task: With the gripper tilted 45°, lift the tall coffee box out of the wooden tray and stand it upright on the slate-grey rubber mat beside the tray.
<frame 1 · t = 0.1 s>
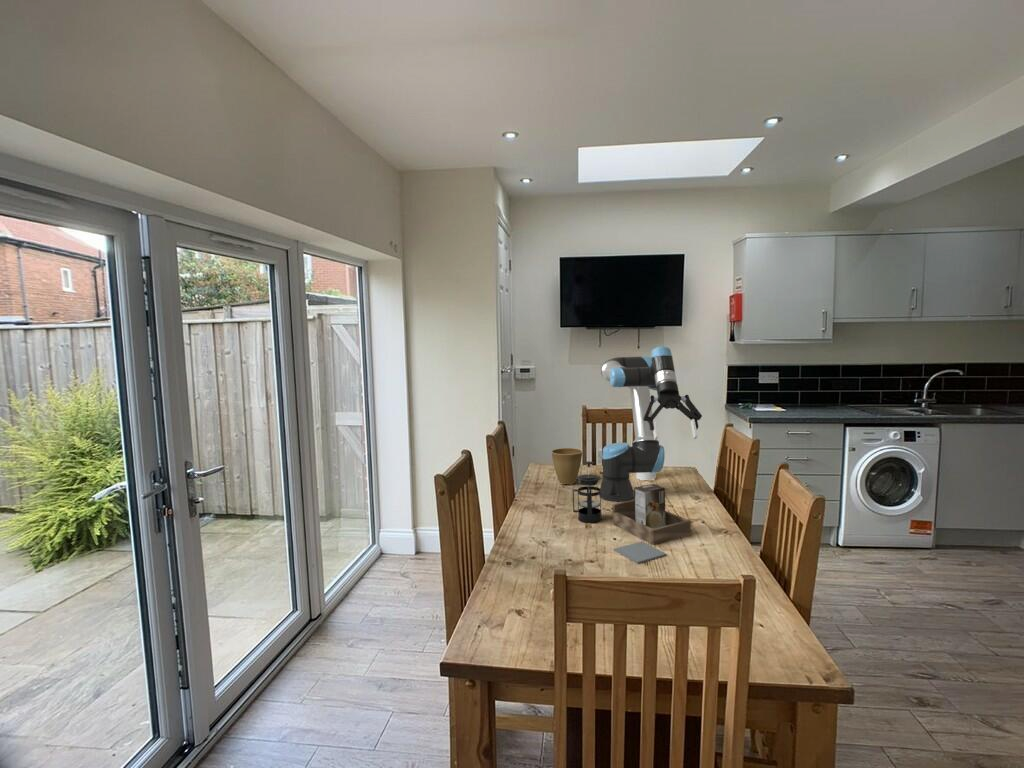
hand: (675, 437, 185), 36 cm above the table, tool tilted 35°, fingers open, 13 cm apart
slate mat: (639, 552, 176), on the table
coffee box: (650, 530, 196), resting in wooden tray
wooden tray: (650, 529, 196), on the table
french press: (588, 519, 209), on the table
cylinder container: (645, 478, 263), on the table
plant pot: (567, 483, 259), on the table
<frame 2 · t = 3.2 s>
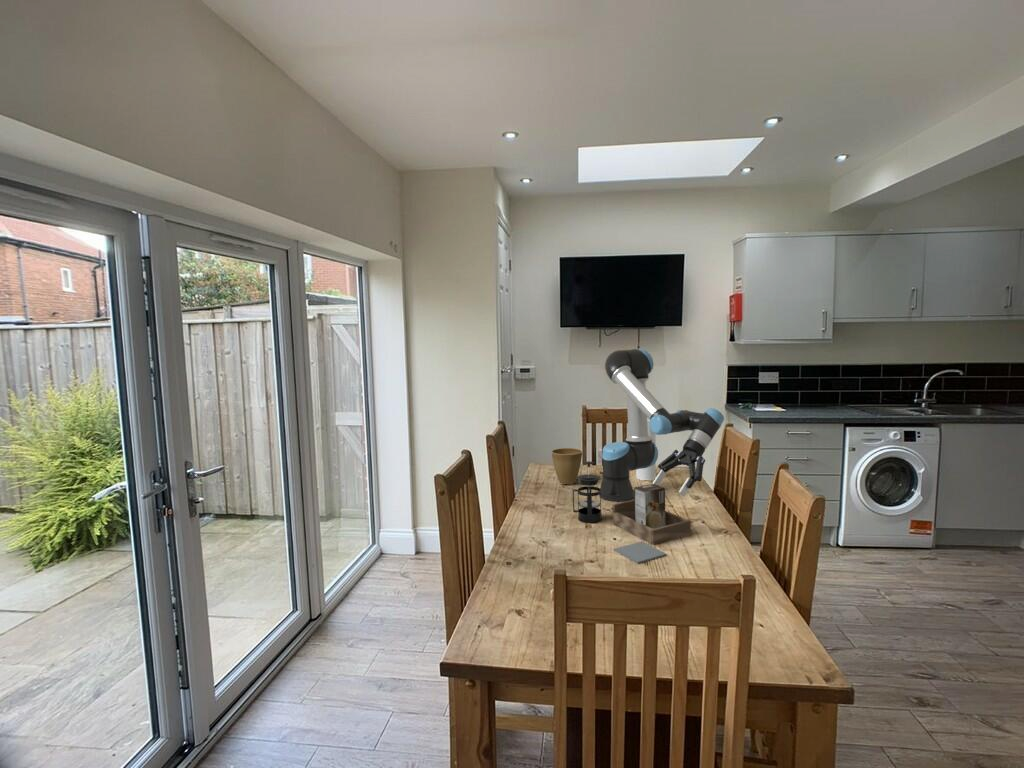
hand: (667, 489, 197), 14 cm above the table, tool tilted 45°, fingers open, 13 cm apart
nothing on the table moved.
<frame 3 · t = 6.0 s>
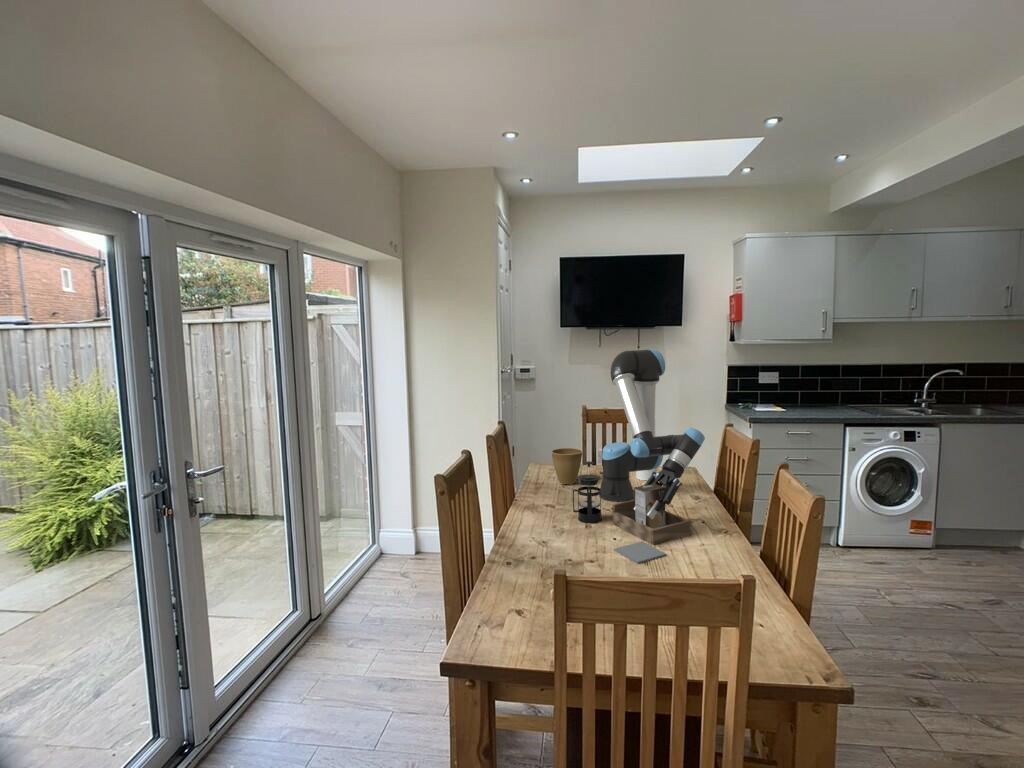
hand: (642, 514, 194), 6 cm above the table, tool tilted 45°, fingers closed on coffee box, 7 cm apart
coffee box: (650, 529, 196), resting in wooden tray, touching gripper
everything else where it was.
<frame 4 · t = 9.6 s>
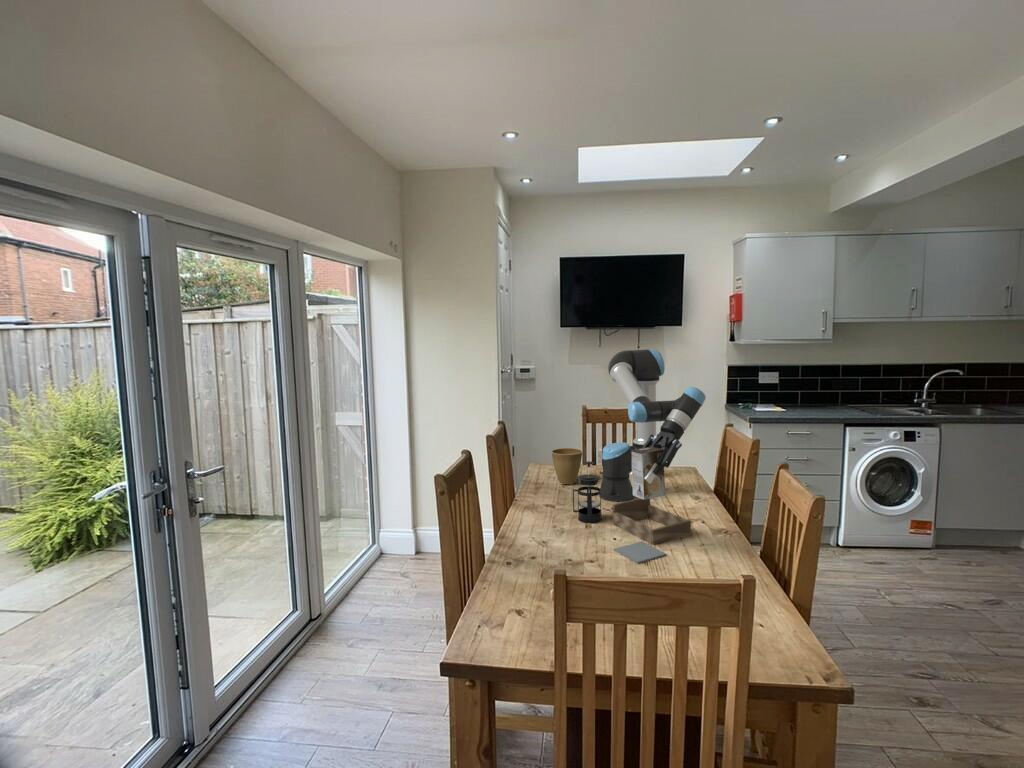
hand: (640, 478, 179), 24 cm above the table, tool tilted 45°, fingers closed on coffee box, 7 cm apart
coffee box: (648, 496, 181), point 17 cm above the table, touching gripper
everything else where it was.
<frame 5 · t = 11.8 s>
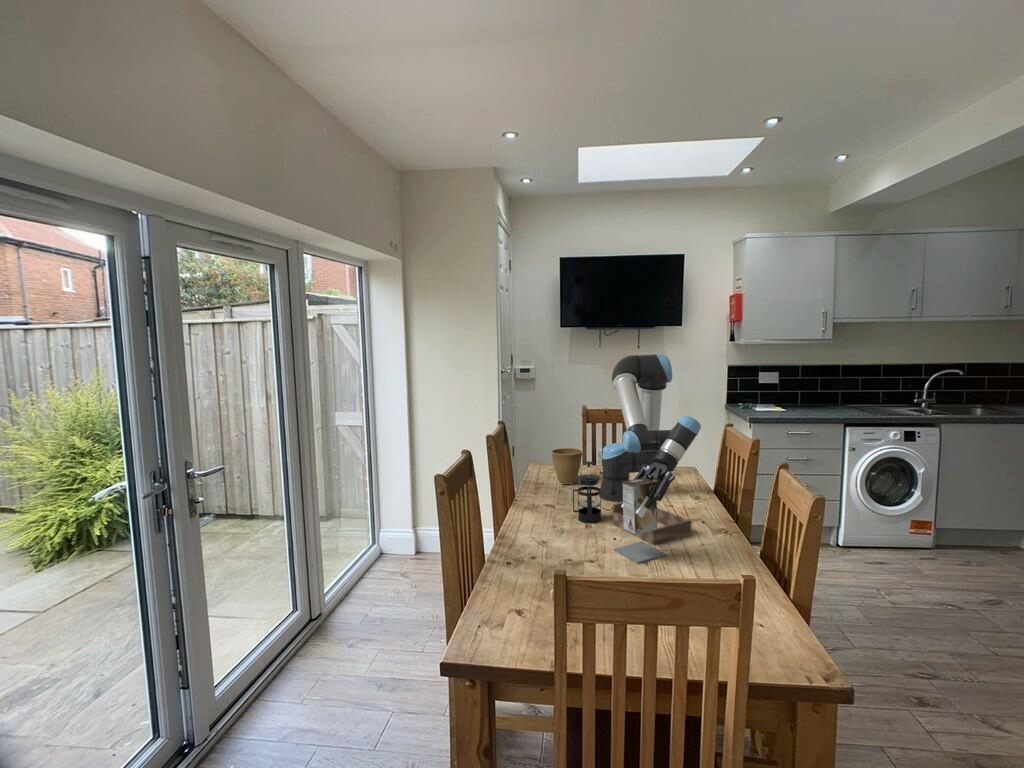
hand: (631, 511, 172), 15 cm above the table, tool tilted 45°, fingers closed on coffee box, 7 cm apart
coffee box: (640, 529, 175), point 8 cm above the table, touching gripper
everything else where it was.
when the fingers open (8 cm above the table, at t = 13.3 s): coffee box drops 1 cm, resting on slate mat.
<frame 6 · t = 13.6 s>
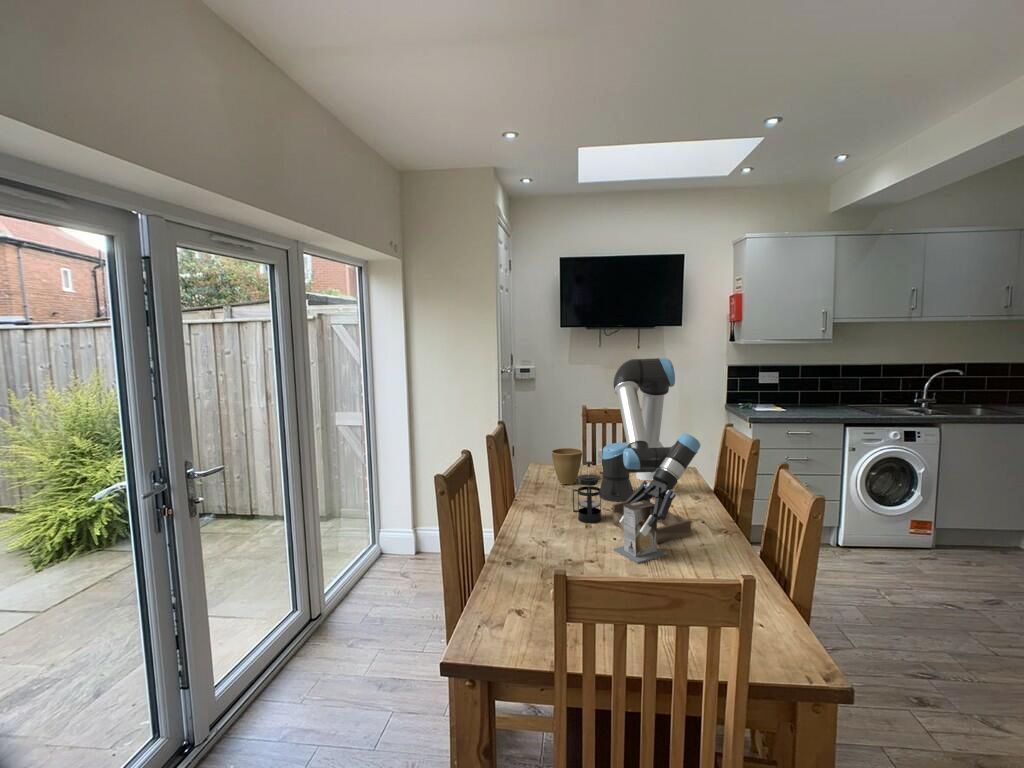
hand: (632, 528, 174), 9 cm above the table, tool tilted 45°, fingers open, 9 cm apart
coffee box: (640, 551, 176), resting on slate mat
everything else where it was.
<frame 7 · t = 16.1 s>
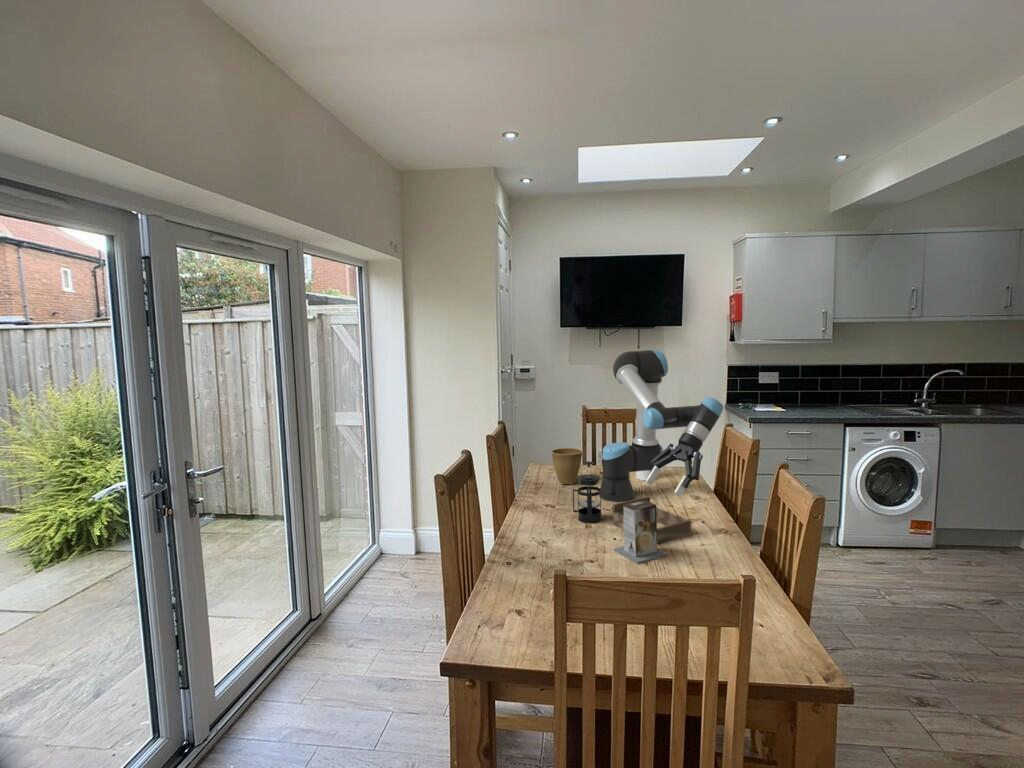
hand: (662, 488, 181), 20 cm above the table, tool tilted 40°, fingers open, 13 cm apart
nothing on the table moved.
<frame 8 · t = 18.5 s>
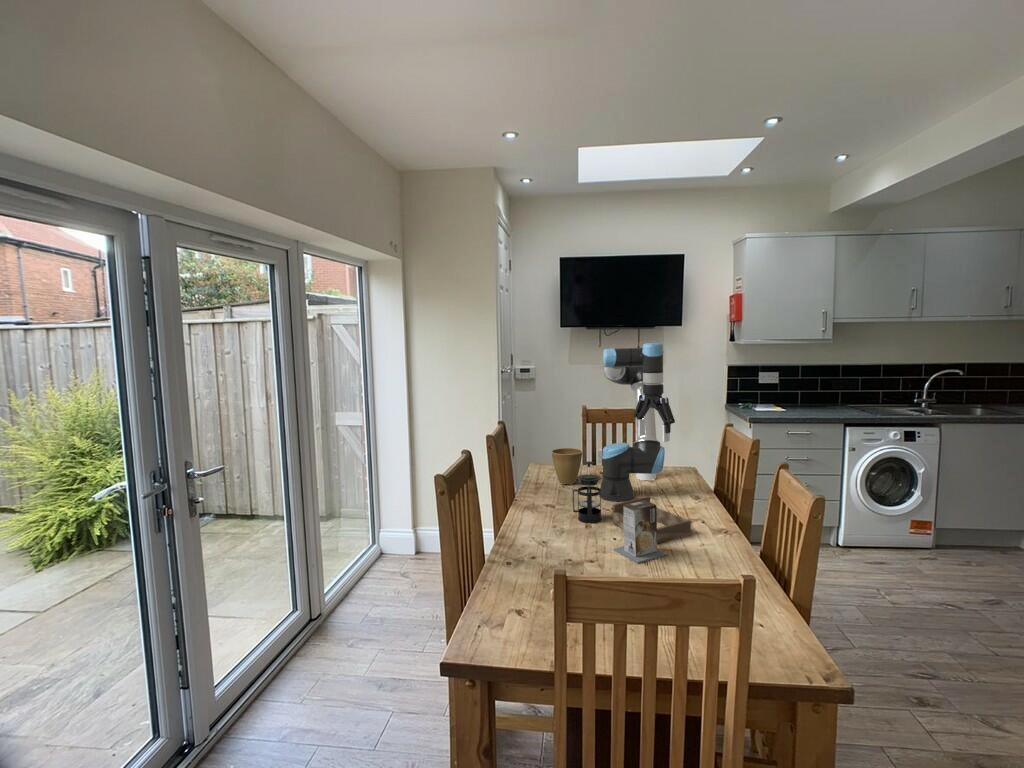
hand: (653, 438, 204), 32 cm above the table, tool pointing down, fingers open, 13 cm apart
nothing on the table moved.
at the end: coffee box inside the target area on the slate mat (0.2 cm from its centre), point 0.4 cm above the slate mat's base; coffee box tilted 0°; the gripper is holding nothing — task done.
